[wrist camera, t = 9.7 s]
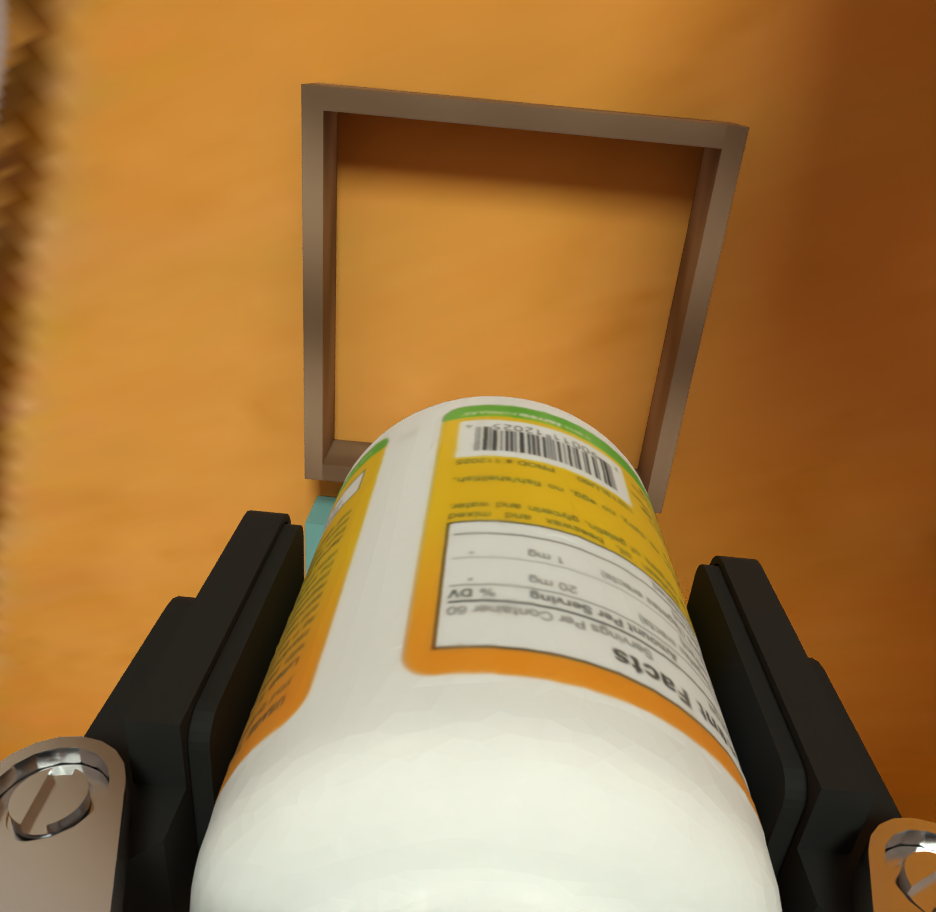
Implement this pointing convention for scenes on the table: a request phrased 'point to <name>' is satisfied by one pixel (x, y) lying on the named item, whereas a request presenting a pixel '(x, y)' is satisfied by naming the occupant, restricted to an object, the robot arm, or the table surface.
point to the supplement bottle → (487, 697)
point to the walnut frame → (717, 137)
